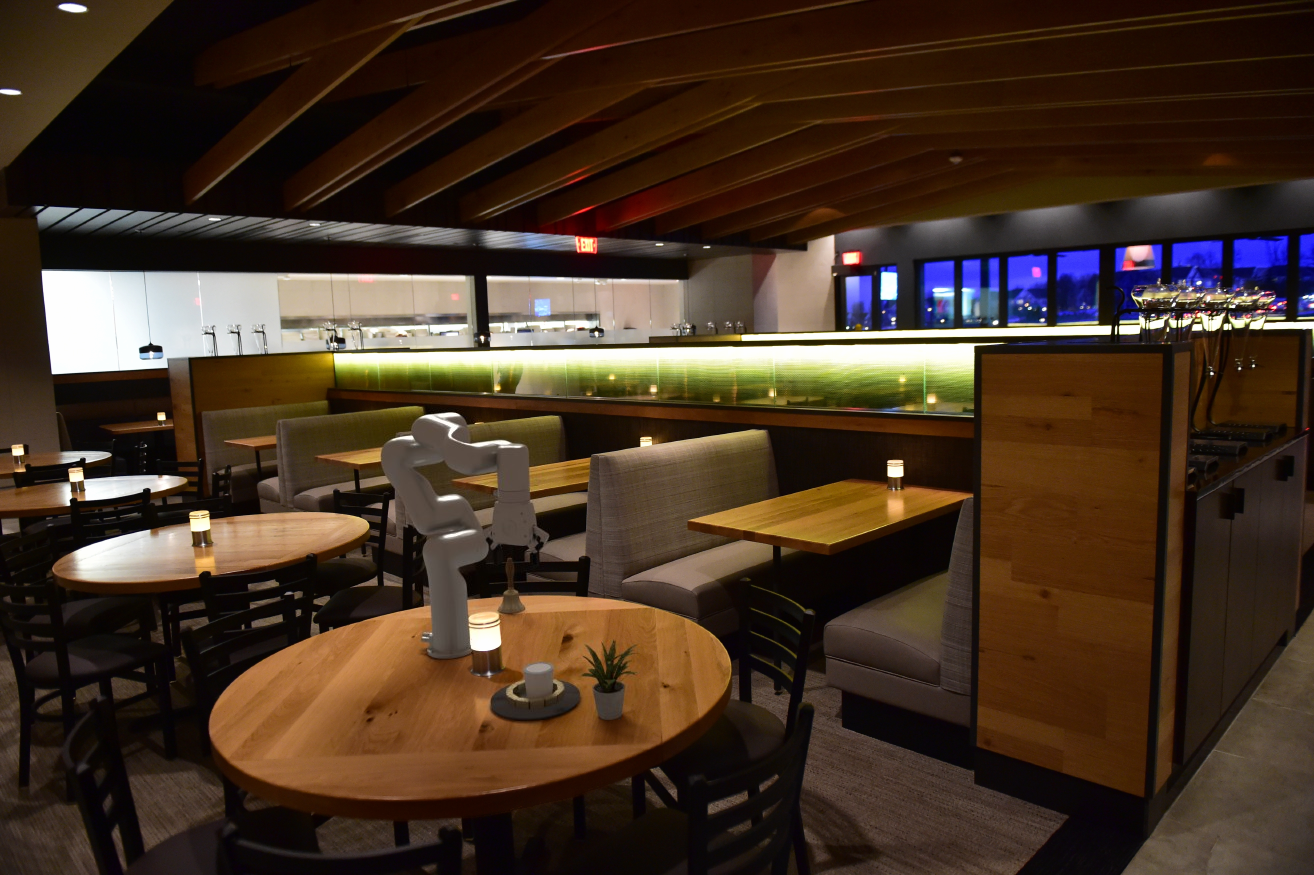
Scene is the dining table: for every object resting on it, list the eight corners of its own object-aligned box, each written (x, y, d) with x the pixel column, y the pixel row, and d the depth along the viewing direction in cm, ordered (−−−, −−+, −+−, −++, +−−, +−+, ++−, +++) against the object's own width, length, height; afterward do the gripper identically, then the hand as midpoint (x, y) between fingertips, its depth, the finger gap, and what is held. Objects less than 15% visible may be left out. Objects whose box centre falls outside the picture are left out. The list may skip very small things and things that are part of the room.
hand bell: (529, 605, 260) (526, 554, 258) (519, 614, 252) (517, 562, 250) (503, 604, 262) (500, 554, 260) (493, 613, 254) (490, 561, 252)
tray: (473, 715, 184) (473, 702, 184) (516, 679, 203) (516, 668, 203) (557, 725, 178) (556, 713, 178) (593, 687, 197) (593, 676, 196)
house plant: (651, 727, 176) (649, 651, 174) (585, 735, 173) (582, 659, 171) (638, 699, 190) (636, 629, 188) (577, 706, 187) (574, 635, 185)
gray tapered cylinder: (558, 691, 193) (557, 661, 192) (550, 704, 186) (549, 673, 186) (529, 690, 194) (527, 661, 193) (520, 703, 187) (519, 673, 186)
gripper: (473, 497, 199) (476, 567, 201) (539, 501, 194) (541, 573, 196) (489, 491, 206) (492, 559, 208) (554, 495, 201) (555, 565, 203)
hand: (516, 566), depth 202 cm, fingers open, 9 cm apart
